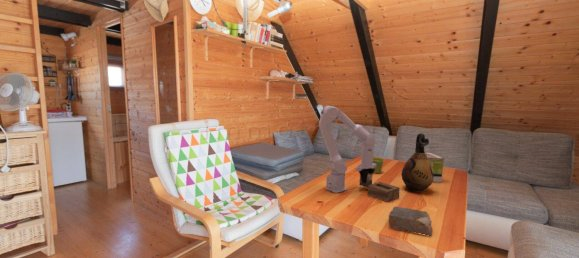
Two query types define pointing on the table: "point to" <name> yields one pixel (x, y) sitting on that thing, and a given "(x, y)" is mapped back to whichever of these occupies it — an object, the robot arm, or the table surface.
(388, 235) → the table surface
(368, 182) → the rectangular block end
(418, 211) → the geological specimen
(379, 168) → the plant pot
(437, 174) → the tea box
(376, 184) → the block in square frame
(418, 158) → the ceramic jug
